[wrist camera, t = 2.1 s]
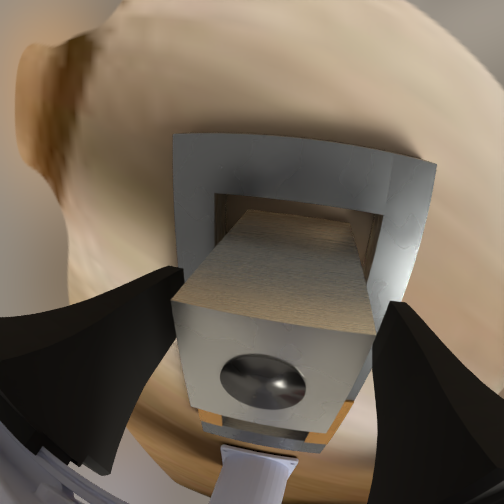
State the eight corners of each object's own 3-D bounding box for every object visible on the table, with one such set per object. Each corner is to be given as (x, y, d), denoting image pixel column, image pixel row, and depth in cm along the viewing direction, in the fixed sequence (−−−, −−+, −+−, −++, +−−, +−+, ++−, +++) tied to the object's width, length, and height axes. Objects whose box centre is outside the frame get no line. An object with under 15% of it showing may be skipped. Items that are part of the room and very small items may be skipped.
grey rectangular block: (331, 306, 13) (325, 435, 7) (244, 293, 14) (189, 407, 8) (349, 222, 11) (376, 337, 5) (248, 209, 12) (169, 301, 6)
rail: (321, 439, 19) (319, 454, 17) (208, 418, 21) (203, 432, 19) (423, 159, 9) (438, 164, 8) (189, 132, 11) (171, 134, 10)
